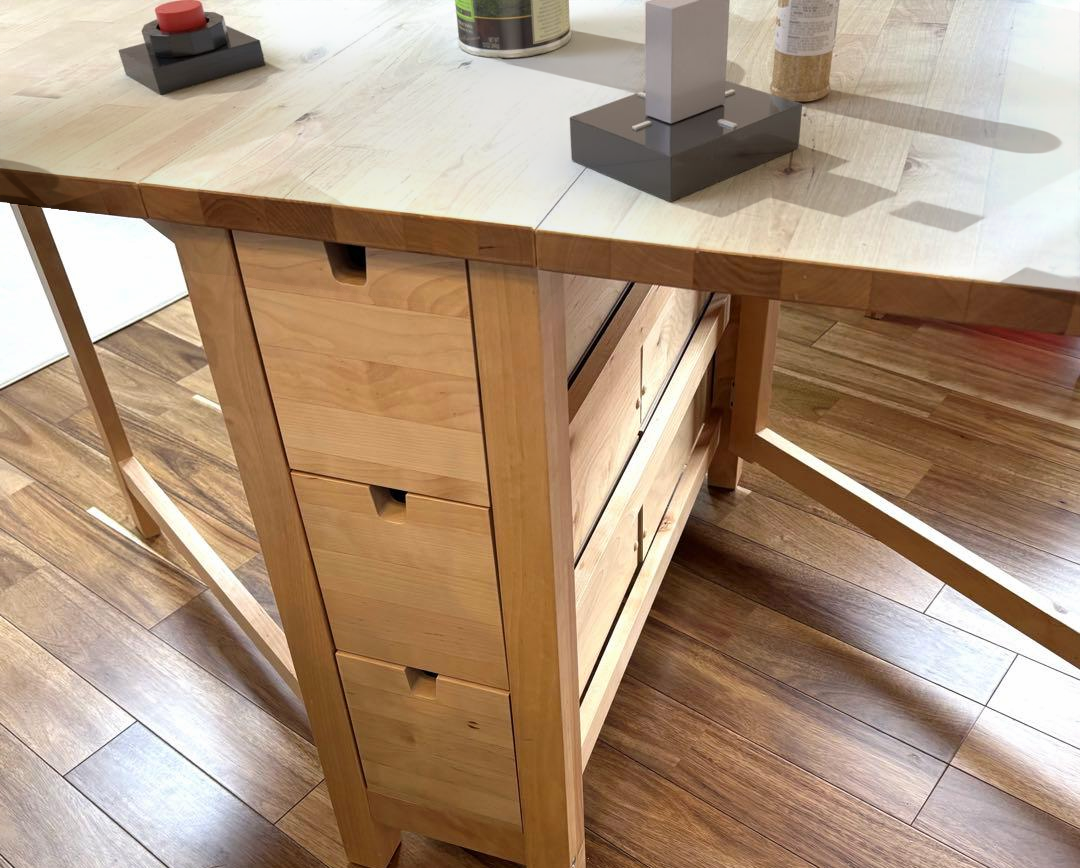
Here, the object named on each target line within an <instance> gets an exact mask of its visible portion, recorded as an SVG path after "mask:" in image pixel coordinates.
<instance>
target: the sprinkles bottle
mask: <svg viewBox="0 0 1080 868" xmlns="http://www.w3.org/2000/svg"><path fill="white" fill-rule="evenodd" d="M840 3H841V2H840V0H777V4H776V5H777V7H776V16H775V17H776V18H775V29H774V32H775V33H774V40H773V41H774V43H773V44H774V45H773V48H774V54H773V68H772V79H771V82H770V84H769V91H770V94H772V95H775V96H778V97H782V98H785V99H788V100H791V101H795V102H802V103H805V102H812V101H817V100H820V99H823V98H825V97H826V96H828V94H829V93H830V91H831V83H830V76H831V69H832V59H833V51H834V48H835V44H836V36H837V29H838V28H837V27H838V19H839V12H840V11H839V10H840Z"/></svg>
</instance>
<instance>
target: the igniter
mask: <svg viewBox="0 0 1080 868" xmlns="http://www.w3.org/2000/svg"><path fill="white" fill-rule="evenodd" d="M204 14H205V18H206V22H207V23H206V24H204V25H202V26H200V27H196V28H192V29H188V30H182V31H173V32H170V31H161V30H160V27H159V23H158V20H157V18H156V19H153V20H151V21H150V22H147V23H145V24H144V25H143V27H142V29H141V34H142V37H143V41H144V43H140V44H135V45H131V46H128V47H125V48H121V49H118V50H117V51H118V54H119V58H120V60H121V63H122V64H121V65H122V67H123V69H124V73H125V75H126V76H127V77H128V78H130V79H132V80H133V81H135V82H137V83H138V84H141V85H142V86H143V87H146V88H147V89H149V90H151V91H153V92H154V93H156V94H157V95H159V96H163V95H167V94H170V93H174V92H178V91H180V90H181V91H182V90H185V89H188V88H191V87H195V86H199V85H202V84H206V83H209V82H213V81H216V80H219V79H223V78H226V77H231V76H234V75H238V74H241V73H245V72H248V71H252V70H255V69H258V68H263V67H266V61H265V57H264V52H263V47H262V44H261V40H260V39H258V38H255V37H254V36H251V35H248V34H246V33H244V32H242V31H239V30H238V29H235V28H233V27H231V26H228V25H227V24H226V20H225V17H224V16H223V15H222V14H220V13H217V12H214V11H204Z"/></svg>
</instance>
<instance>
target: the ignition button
mask: <svg viewBox="0 0 1080 868" xmlns="http://www.w3.org/2000/svg"><path fill="white" fill-rule="evenodd" d="M154 12H155V17H156V19H157V20H158V23H159V27H160V30H161V31H170V32H173V31H182V30H188V29H192V28H196V27H200V26H202V25H204V24H206V23H207V22H206V18H205V14H204V12H205V11H204V6H203V3H202V2H201V1H200V0H174V1H169V2H165V3H162V4H159V5H157V6H156V7H155V8H154Z"/></svg>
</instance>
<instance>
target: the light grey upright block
mask: <svg viewBox="0 0 1080 868" xmlns="http://www.w3.org/2000/svg"><path fill="white" fill-rule="evenodd" d="M730 2H731V1H730V0H647V1H645V3H644V4H645V6H644V7H645V8H644V9H645V15H644V17H645V23H644V24H645V28H644V31H645V33H644V35H645V36H644V37H645V40H644V43H645V48H644V50H645V58H644V59H645V61H644V62H645V66H644V67H645V69H644V70H645V72H644V73H645V76H644V77H645V83H644V85H645V114H646V115H647V116H650V117H653V118H656V119H658V120H661V121H664V122H667V123H670V124H672V123H675V122H677V121H680V120H682V119H685V118H688V117H690V116H693V115H696V114H698V113H701V112H704V111H706V110H709V109H711V108H714V107H717V106H719V105H722V104H724V103H725V86H726V81H727V66H728V65H727V63H728V45H729V43H728V41H729V21H730Z"/></svg>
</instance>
